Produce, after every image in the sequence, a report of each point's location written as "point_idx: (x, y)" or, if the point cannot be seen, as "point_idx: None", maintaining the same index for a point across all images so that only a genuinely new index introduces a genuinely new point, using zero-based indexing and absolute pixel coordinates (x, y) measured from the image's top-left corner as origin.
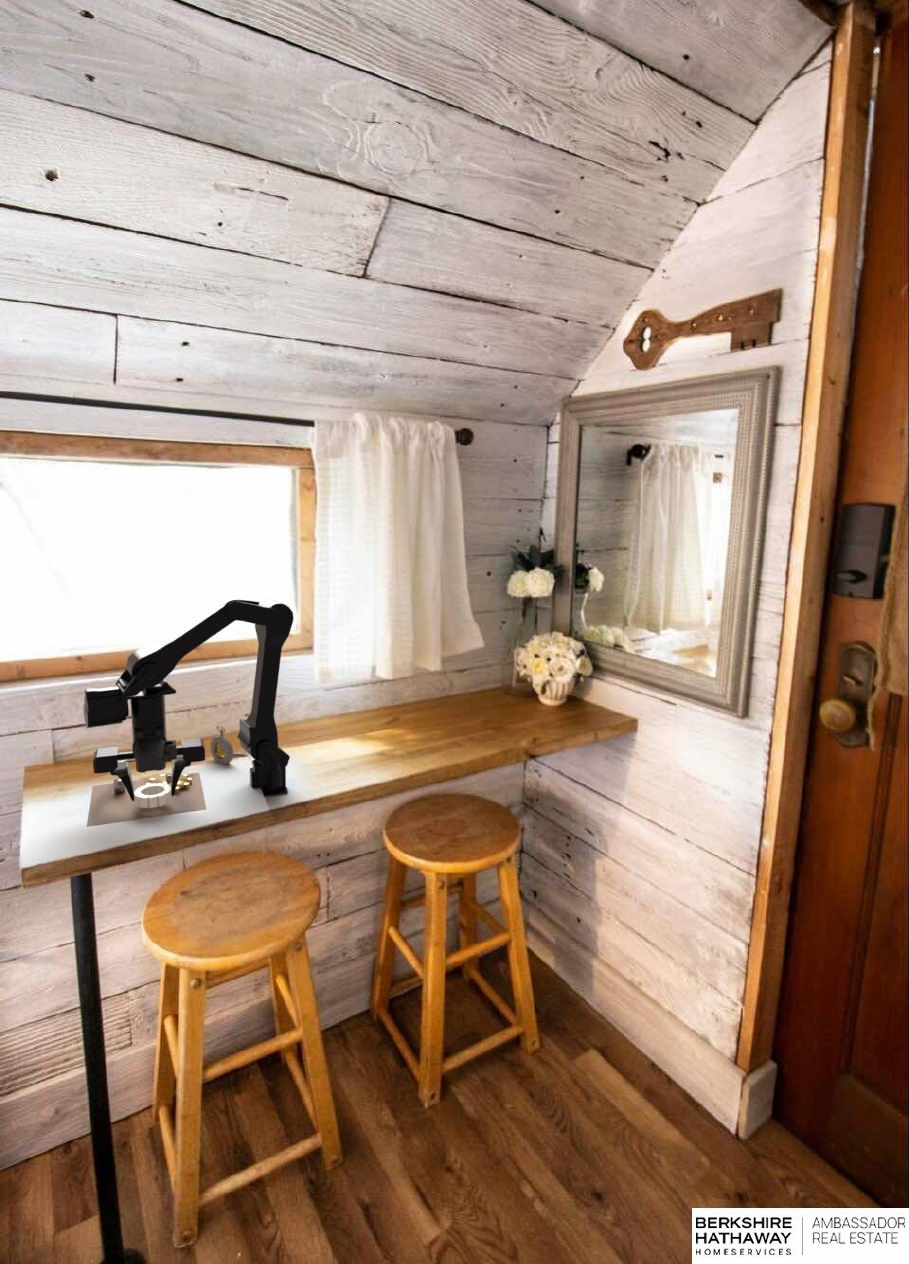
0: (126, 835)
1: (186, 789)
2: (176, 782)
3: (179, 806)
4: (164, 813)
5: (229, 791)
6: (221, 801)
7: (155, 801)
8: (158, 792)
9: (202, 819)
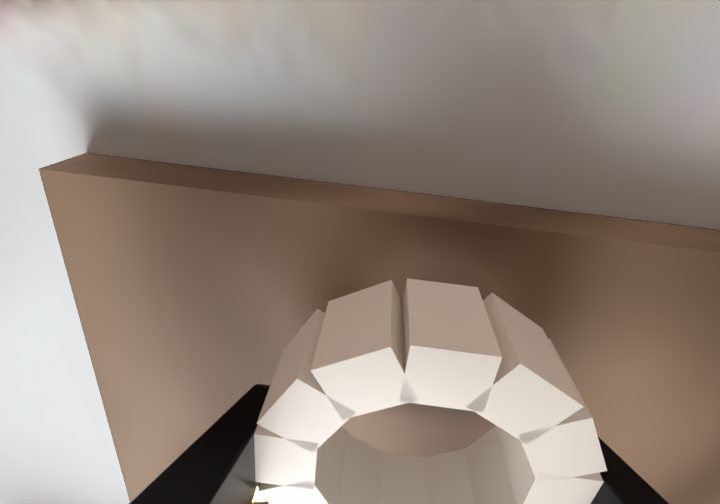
0: (668, 101)
1: None
2: (158, 492)
3: (244, 296)
4: (358, 233)
5: (5, 397)
6: (25, 313)
7: (427, 315)
8: (364, 467)
9: (109, 116)
